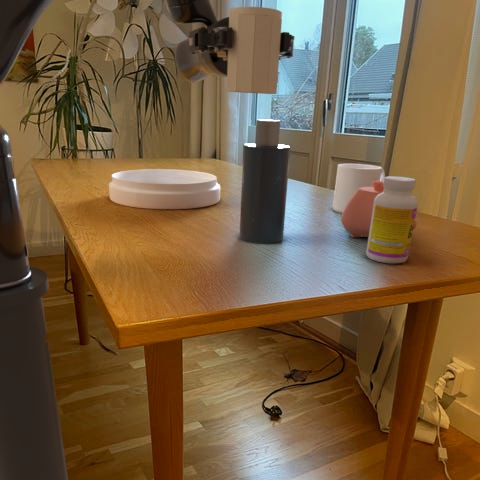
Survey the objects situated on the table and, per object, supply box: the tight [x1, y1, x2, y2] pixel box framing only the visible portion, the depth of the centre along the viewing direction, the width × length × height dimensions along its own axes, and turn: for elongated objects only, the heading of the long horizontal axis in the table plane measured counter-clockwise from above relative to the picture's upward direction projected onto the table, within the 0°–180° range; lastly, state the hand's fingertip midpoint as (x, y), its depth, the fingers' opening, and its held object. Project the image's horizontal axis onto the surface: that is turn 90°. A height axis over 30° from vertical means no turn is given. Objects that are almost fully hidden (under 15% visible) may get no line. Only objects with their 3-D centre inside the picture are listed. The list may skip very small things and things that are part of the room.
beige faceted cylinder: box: [226, 6, 283, 95], centre depth 60 cm, size 6×7×9 cm
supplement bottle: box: [365, 175, 419, 265], centre depth 76 cm, size 7×7×13 cm
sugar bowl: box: [340, 181, 418, 238], centre depth 90 cm, size 12×14×10 cm
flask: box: [239, 119, 291, 245], centre depth 83 cm, size 8×8×20 cm
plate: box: [108, 168, 221, 210], centre depth 117 cm, size 27×27×6 cm
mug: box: [332, 163, 386, 214], centre depth 112 cm, size 13×10×10 cm
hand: (258, 39), depth 58 cm, fingers closed on beige faceted cylinder, 6 cm apart
